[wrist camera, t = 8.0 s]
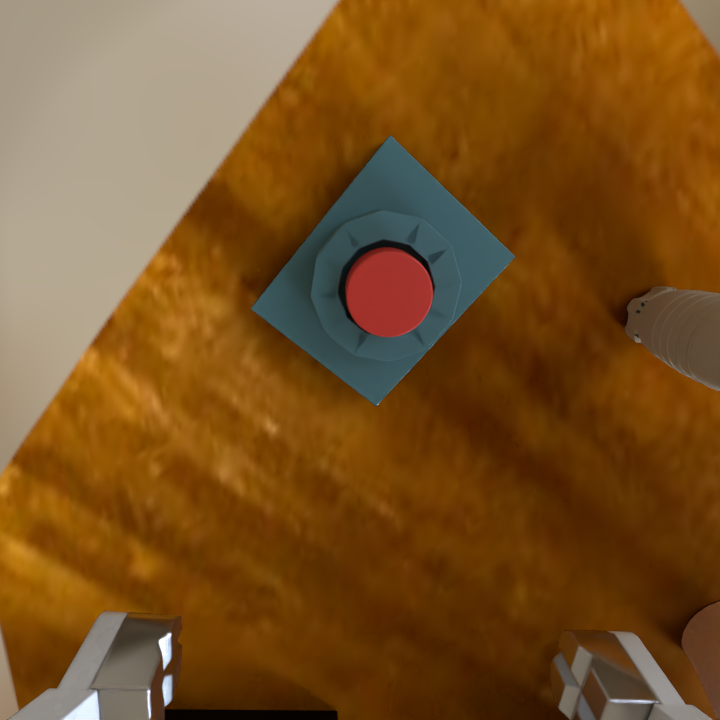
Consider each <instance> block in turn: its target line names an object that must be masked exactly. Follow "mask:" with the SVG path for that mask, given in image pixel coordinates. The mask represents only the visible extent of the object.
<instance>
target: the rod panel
mask: <svg viewBox="0 0 720 720" xmlns="http://www.w3.org/2000/svg"><path fill="white" fill-rule="evenodd" d="M165 720H338V716H337V711H256V710H165Z"/></svg>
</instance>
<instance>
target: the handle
mask: <svg viewBox="0 0 720 720" xmlns="http://www.w3.org/2000/svg"><path fill="white" fill-rule="evenodd" d="M627 311H628V321H627V324H626V326H625V332H626V334H627V335H628V336H629V337H630V338H631V339H632V340H634V341H635V342H637V343H638V342H640V343H642V344H643V345H644V346H645V347H646V348H647V349H648V350H649V351H650V352H651V353H652V354H653V355H655V356H656V357H657V358H659V359H660V360H661V361H663V362H664V363H666V364H667V365H669V366H670V367H672V368H674V369H675V370H677V371H678V372H680V373H682V374H684V375H686V376H687V377H689V378H691V379H694V380H695V381H697V382H699V383H702V384H704V385H706V386H708V387H710V388H713V389H715V390H718V391H720V293H713V292H705V291H695V290H676V288H674V287H665V286H661V287H653V288H652V289H651V290H650V291H649V292H648V293H647V294H645V295H644V296H642V297H640V298H633V299H632V300H631V301H630V303H629V304H628V306H627Z"/></svg>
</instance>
